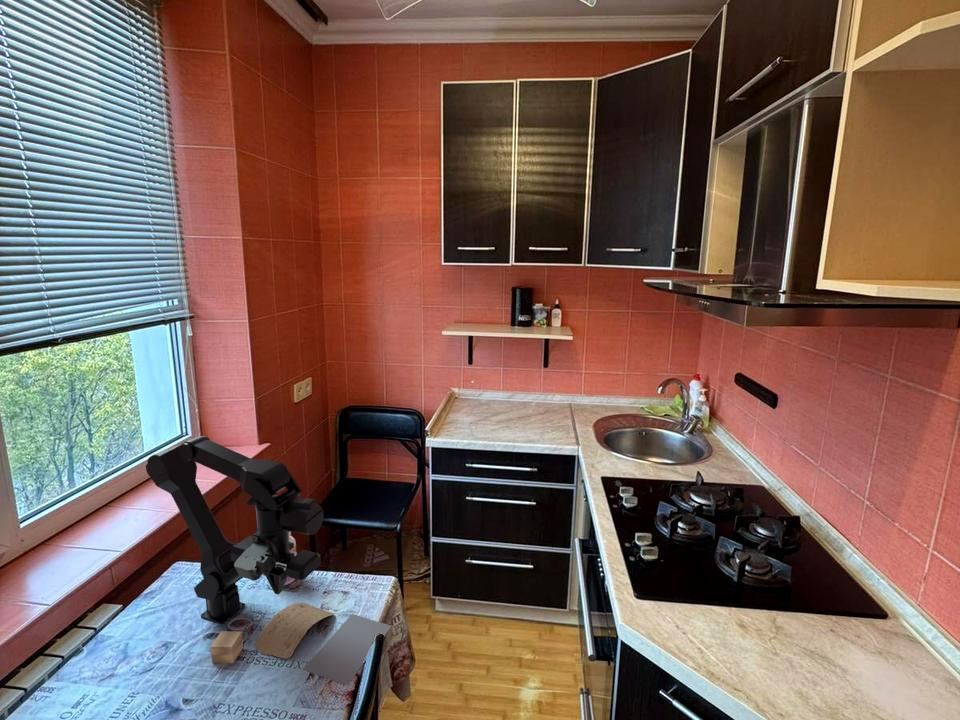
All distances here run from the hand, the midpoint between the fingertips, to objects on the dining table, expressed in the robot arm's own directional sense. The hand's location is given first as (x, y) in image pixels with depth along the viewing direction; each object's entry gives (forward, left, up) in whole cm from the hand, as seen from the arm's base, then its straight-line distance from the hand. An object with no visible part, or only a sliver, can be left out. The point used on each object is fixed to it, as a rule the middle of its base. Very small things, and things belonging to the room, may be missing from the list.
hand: (278, 593), depth 103 cm
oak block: (-4, -10, -8) cm, 14 cm away
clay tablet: (+8, 0, -9) cm, 12 cm away
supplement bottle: (-11, +13, -8) cm, 19 cm away
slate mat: (+17, 0, -8) cm, 19 cm away
